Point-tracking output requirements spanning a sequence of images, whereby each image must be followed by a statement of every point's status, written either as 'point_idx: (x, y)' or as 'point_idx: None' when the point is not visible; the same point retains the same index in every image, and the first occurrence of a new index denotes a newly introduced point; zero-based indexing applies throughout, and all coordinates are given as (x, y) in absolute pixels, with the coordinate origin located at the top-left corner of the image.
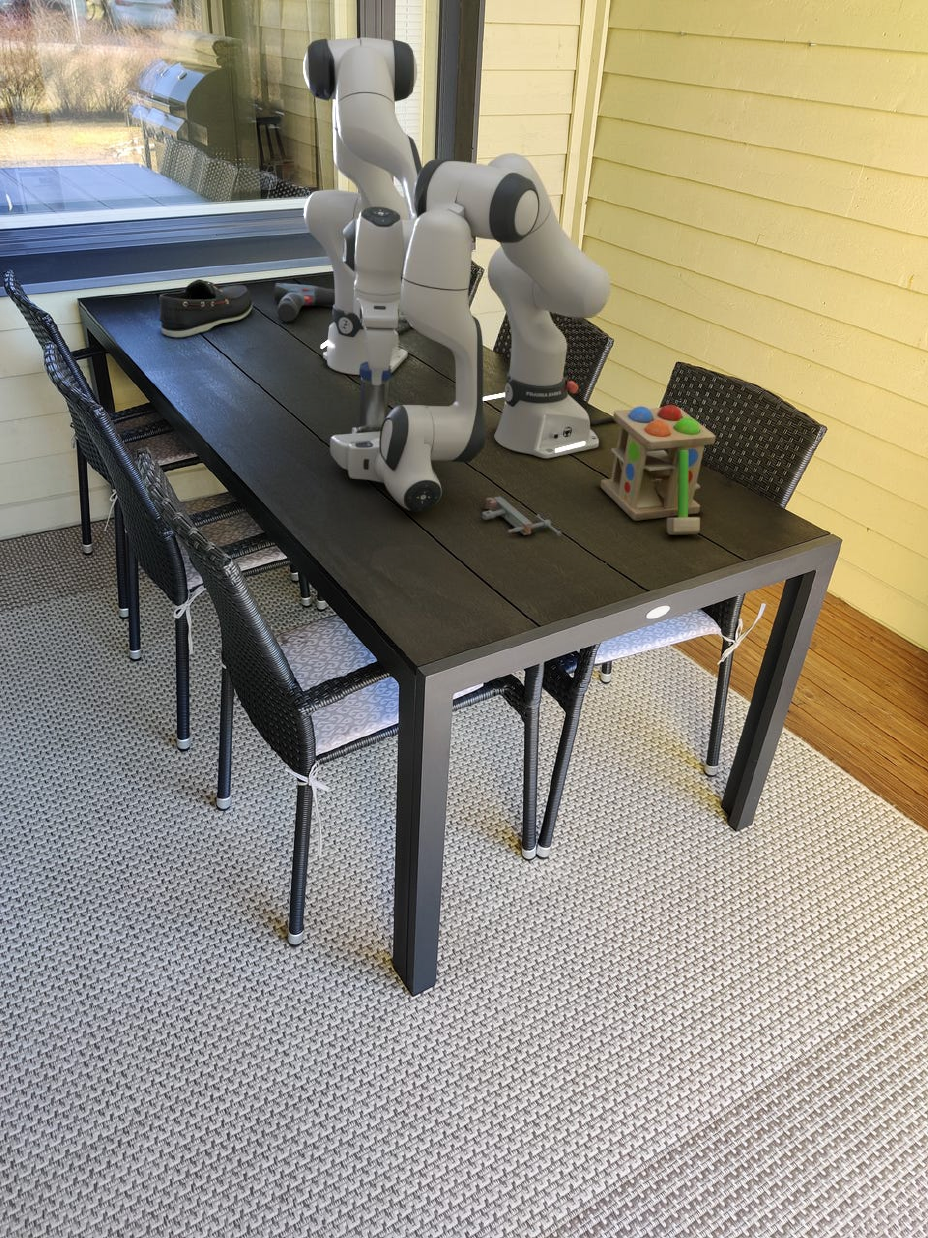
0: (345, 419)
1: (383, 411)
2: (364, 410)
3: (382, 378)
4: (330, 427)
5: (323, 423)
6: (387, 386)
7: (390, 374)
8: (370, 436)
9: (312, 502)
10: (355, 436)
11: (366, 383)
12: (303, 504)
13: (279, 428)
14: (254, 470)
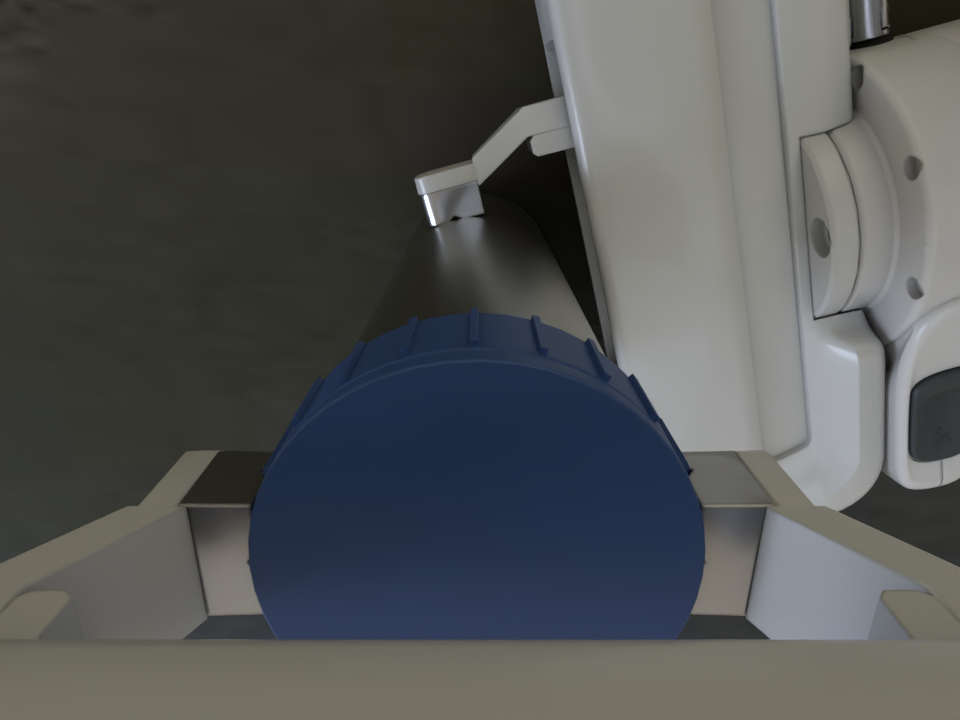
0: (64, 373)
1: (567, 285)
2: None
3: (670, 441)
4: (181, 442)
5: (142, 470)
6: (563, 321)
7: (543, 334)
8: (697, 343)
9: (920, 517)
10: (691, 429)
11: None
12: (928, 546)
13: (239, 628)
14: None
